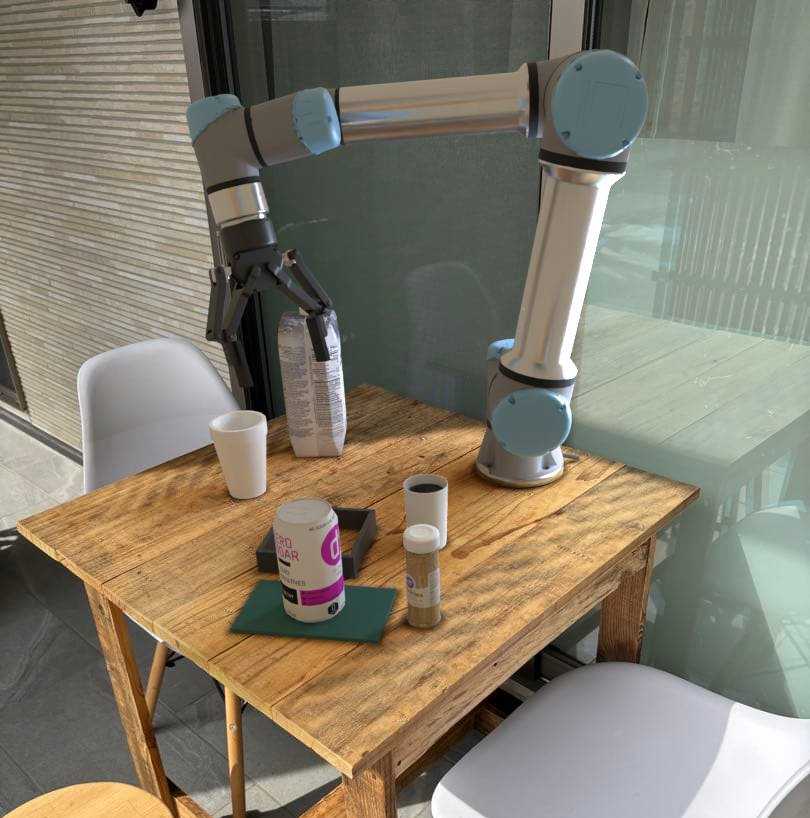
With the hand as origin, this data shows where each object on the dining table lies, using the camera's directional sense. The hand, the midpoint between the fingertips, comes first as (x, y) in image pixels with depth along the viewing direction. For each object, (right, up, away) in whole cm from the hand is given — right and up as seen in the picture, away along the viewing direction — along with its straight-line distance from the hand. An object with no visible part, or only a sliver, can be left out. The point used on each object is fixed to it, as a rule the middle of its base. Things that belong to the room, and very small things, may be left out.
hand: (286, 373), depth 124 cm
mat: (+5, -34, -9) cm, 35 cm away
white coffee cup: (+21, -25, +6) cm, 33 cm away
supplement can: (+5, -33, -9) cm, 35 cm away
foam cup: (-10, -16, +24) cm, 31 cm away
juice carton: (+1, -7, +38) cm, 39 cm away
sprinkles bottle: (+20, -35, -11) cm, 42 cm away
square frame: (+4, -26, +6) cm, 27 cm away
